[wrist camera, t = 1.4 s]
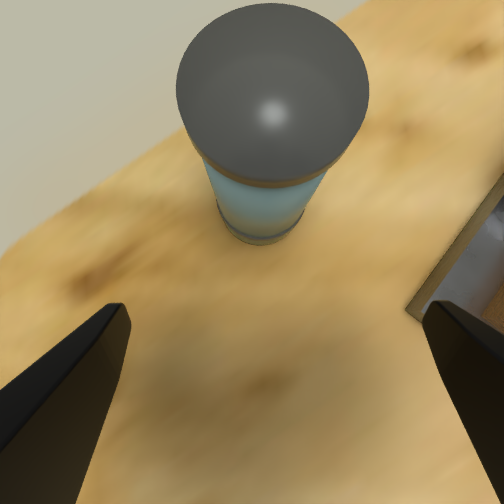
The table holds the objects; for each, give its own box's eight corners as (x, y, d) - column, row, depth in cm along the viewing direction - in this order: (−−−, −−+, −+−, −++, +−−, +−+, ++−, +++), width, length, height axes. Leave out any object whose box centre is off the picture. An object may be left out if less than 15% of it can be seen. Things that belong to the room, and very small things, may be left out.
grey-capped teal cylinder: (302, 247, 22) (376, 175, 9) (219, 248, 22) (172, 176, 9) (299, 168, 23) (362, 2, 10) (219, 169, 23) (179, 3, 10)
